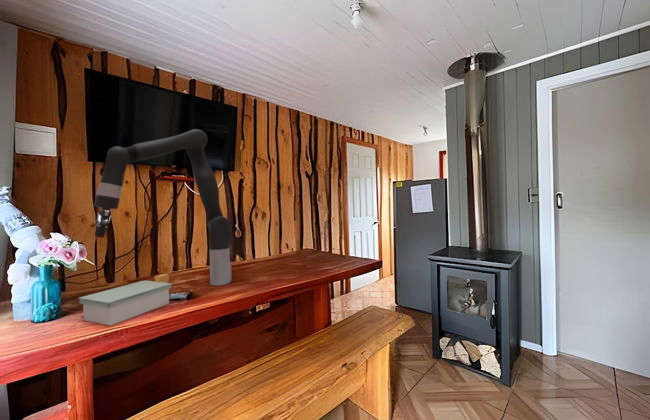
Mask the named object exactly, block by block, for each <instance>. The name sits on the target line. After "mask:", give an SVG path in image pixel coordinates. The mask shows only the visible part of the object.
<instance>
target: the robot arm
mask: <svg viewBox="0 0 650 420" xmlns="http://www.w3.org/2000/svg"><path fill="white" fill-rule="evenodd" d="M208 140H209V139H208V135H207V134H206V133H205V132H204V131H203V130H202V129H197V128H193V129H191V130H188V131H185V132H183V133H181V134H175V135H174V136H169V137H164V138H159V139H154V140H149V141H144V142H138V143H135V144H132V145H131V146H127V147H122V146H118V145H117V146H112V147H110V148H109V149H108V151H107V152H106V153H107V154H106V157H105V164H104V169H103V172H102V175H101V178H100V183H99V186H98V187H97V191H96V196H95V199H94V203H93V205H94V207H98V208H101V209H100V210H98V211H97V217H96V222H95V223H96V224H95V225H96V227H95V228H96V229H95V232H94V236H95V237H96V238H100V239H101V238H105V235H106V230H107V228H108V226H109V224H110V220H111V217H112V211H111V210H118V209H119V205H120V200H121V196H122V190H123V184H124V180H125V172H126V169H127V168H128V165H130V164H133V163H137V162H139V161H145V160H146V161H147V160H150V159H154V158H159V157H161V156H164V155H167V154H171V153H173V152H174V153H175V152H177V151H181V150H186V153H187V156H188V157H189V160H190V163H191V168H192V172H193V176H194V181H195V183H196V184H195V185H196V188H197V191H198V194H199V197H200V200H201V203H202V205H203V208H204V212H205V218H206V224H207V229H208V231H209V232H210V233H209V234H210V241H209V246H208V247H209V275H210V276H209V277H210V282H209V283H210V285H211V286H224V285H228V284H230V283H231V282H232V279H233V278H232V262H231V257H230V243H231V223H230V220H229V219H228V218H227V217H225V216H224V215H223V211H222V208H221V206H220V205H221V204H220V191H219V186H218V182H217V179H216V174H215V173H214V171H213V169H212V167H211V166H210V164H209V162H208V160H207V157H206V154H205V153H206V152H205V147H206V146H207V143H208Z"/></svg>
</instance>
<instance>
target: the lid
mask: <svg viewBox="0 0 650 420" xmlns="http://www.w3.org/2000/svg"><path fill="white" fill-rule="evenodd" d="M169 276H170V274H168V273H167V274H166V273H163V274H162V273H161V274H159V275H155V276H154V280H141V281H137V282H132V283H129V284H126V285H122V286H118V287H115V288H110V289H106V290H102V291H99V292H95V293H91V294H88V295H84V296H80V297H78V303H79V304H82V305H83V304H87V305H93V306H99V307H105V308H111V307H114V306H117V305H120V304H124V303H127V302H130V301H133V300H136V299H139V298H142V297H145V296H148V295H151V294H155V293H158V292H161V291H164V290H167V289H169V290H170V289H172V288H173V283H171V282H170V277H169Z"/></svg>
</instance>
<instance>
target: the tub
mask: <svg viewBox="0 0 650 420" xmlns="http://www.w3.org/2000/svg"><path fill="white" fill-rule="evenodd" d="M169 290H170V289H167V290H164V291H161V292H158V293H155V294H151V295H148V296H145V297H142V298H139V299H136V300H133V301H130V302H127V303H124V304H120V305H117V306H114V307H111V308H105V307H99V306H93V305H87V304H82V307H83V308H82V310H83V321H86V322H91V323H97V324H102V325H106V326H113V325H115V324H116V325H117V324H119V323H121V322H124V321H127V320H129V319H131V318H135V317H136V316H140V315H143V314H146V313H148V312H150V311H153V310H156V309H158V308H161V307H164V306H167V305H169V304H170V291H169Z"/></svg>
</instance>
